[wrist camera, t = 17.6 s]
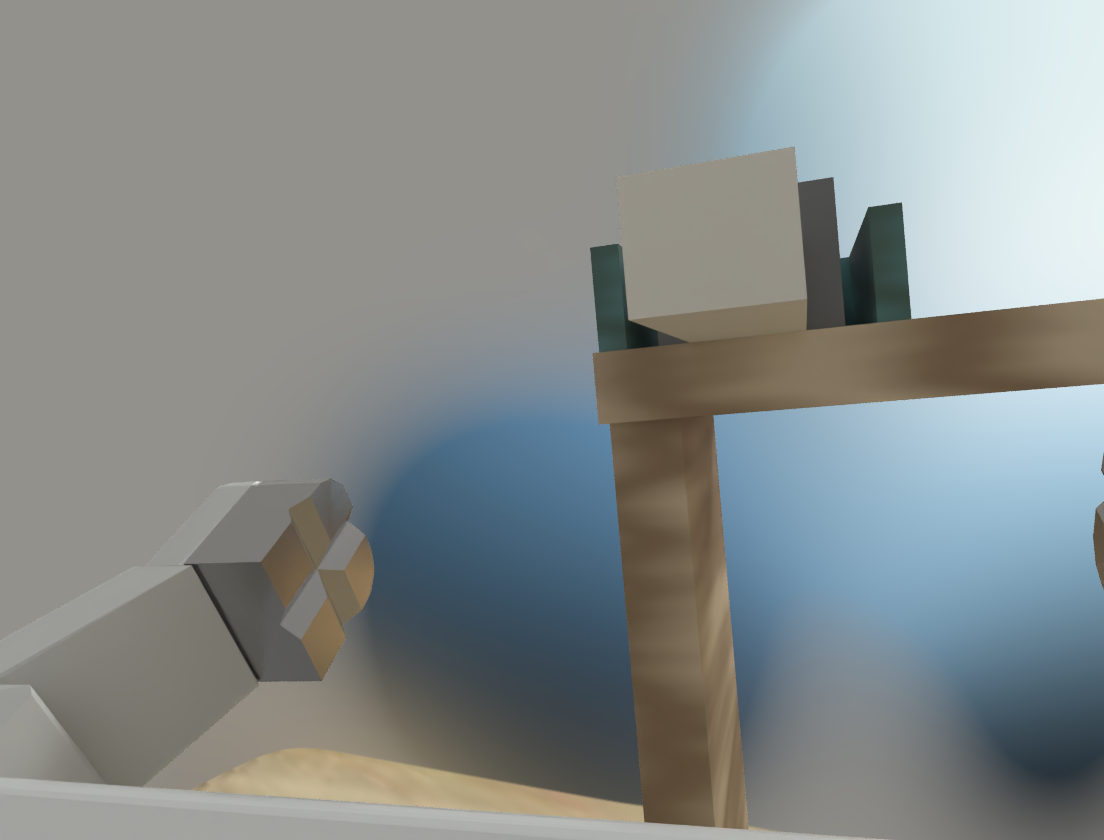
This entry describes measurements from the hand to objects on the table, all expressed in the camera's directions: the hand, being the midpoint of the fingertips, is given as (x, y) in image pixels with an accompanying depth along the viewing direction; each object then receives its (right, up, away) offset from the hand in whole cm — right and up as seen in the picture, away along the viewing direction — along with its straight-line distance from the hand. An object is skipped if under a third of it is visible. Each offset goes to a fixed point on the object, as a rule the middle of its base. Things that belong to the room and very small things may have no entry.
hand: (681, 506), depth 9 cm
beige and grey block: (+4, +3, +13) cm, 13 cm away
